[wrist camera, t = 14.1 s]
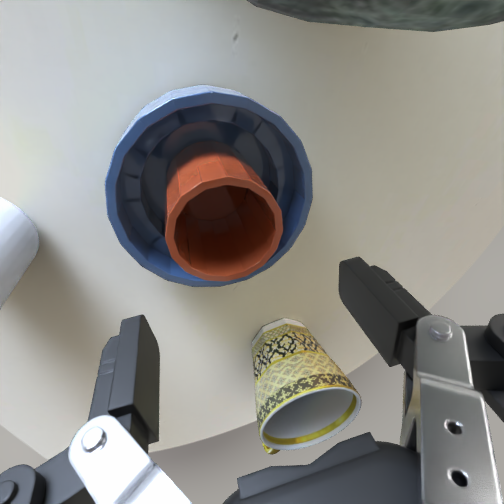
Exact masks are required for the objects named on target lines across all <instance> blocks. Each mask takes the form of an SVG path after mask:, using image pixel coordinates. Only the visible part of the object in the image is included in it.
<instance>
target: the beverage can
mask: <svg viewBox="0 0 504 504" xmlns="http://www.w3.org/2000/svg"><path fill="white" fill-rule="evenodd" d="M38 248H39V236H38V232H37V229H36V227H35V225H34V224H33V222H32V221H31V219H30V218H29V217H28V216H27V215H26V214H25V213H24V212H23V211H22V210H21V209H19V208H18V207H16V206H15V205H14V204H12V203H10V202H8V201H6V200H4V199H2V198H0V309H1V307H2V306H3V304H4V303H5V301H6V300H7V298H8V297H9V295H10V294H11V292H12V291H13V289H14V288H15V286H16V284H17V283H18V281H19V280H20V278H21V277H22V275H23V274H24V272H25V271H26V269H27V268H28V266H29V265H30V263H31V262H32V260H33V258H34V257H35V255H36V253H37V251H38Z"/></svg>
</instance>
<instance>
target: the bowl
mask: <svg viewBox="0 0 504 504" xmlns="http://www.w3.org/2000/svg"><path fill="white" fill-rule="evenodd" d="M199 141H218V142H222V143H225V144H227V145H229V146H231V147H232V148H234V149H235V150H236V151H238V152H239V153H240V154H241V155H242V156H243V157H244V158H245V160H246V161H247V162H248V164H249V165H250V166H251V168H252V169H253V170H254V172H255V173H256V174H257V175H258V177H259V178H260V179H261V181H262V182H263V183H264V185H265V186H266V187H267V189H268V190H269V191H270V193H271V194H272V196H273V197H274V199H275V201H276V202H277V204H278V206H279V207H280V209H281V212H282V223H283V233H282V236H281V239H280V242H279V245H278V248H277V250H276V251H275V252H274V254H273V255H272V256H271V257H270V259H269V260H268V261H267V262H266V263H265V265H263V266H262V267H260V268H259V269H257V270H256V271H254V272H252V273H251V274H249V275H248V276H246V277H242V278H238V279H234V280H230V281H226V282H225V281H207V280H203V279H201V278H198V277H196V276H194V275H191V274H189V273H187V272H185V271H184V270H183V269H182V268H181V267H180V266H179V265H178V264H177V263H176V262H175V261H174V260H173V259H172V257H171V254H170V251H169V249H168V246H167V243H166V240H165V184H166V174H167V170H168V167H169V165H170V163H171V161H172V160H173V158H174V157H175V156H176V155H177V154H178V152H180V151H181V150H182V149H183V148H185V147H187V146H188V145H190V144H193V143H196V142H199ZM105 193H106V205H107V215H108V218H109V220H110V223H111V225H112V227H113V229H114V231H115V233H116V235H117V238H118V240H119V242H120V244H121V245H122V246H123V247H124V248H125V249H126V251H127V252H128V253H129V254H130V255H131V256H132V257H133V258H134V259H135V260H136V261H137V262H138V263H139V264H140V265H141V266H142V267H144V268H146V269H147V270H149V271H151V272H153V273H154V274H156V275H158V276H160V277H162V278H163V279H165V280H167V281H171V282H175V283H179V284H183V285H187V286H192V287H221V286H225V285H229V284H233V283H237V282H240V281H244V280H247V279H250V278H251V277H253V276H255V275H257V274H259V273H260V272H262V271H264V270H266V269H268V268H270V266H272V265H273V264H274V263H276V262H277V261H278V260H279V259H280V258H281V257H282V256H283V255H284V254H285V253H286V252H287V251H288V250H290V248H291V247H292V245H293V244H294V242H295V241H296V239H297V237H298V236H299V234H300V233H301V231H302V230H303V228H304V225H305V224H306V220H307V217H308V213H309V210H310V206H311V203H312V198H313V195H312V169H311V166H310V163H309V160H308V158H307V155H306V152H305V149H304V147H303V144H302V142H301V140H300V139H299V137H298V136H297V135H296V134H295V133H294V131H293V130H292V129H291V128H290V127H289V125H288V124H287V123H286V122H285V121H284V119H283V118H282V117H281V116H280V115H279V114H277V113H275V112H273V111H272V110H270V109H268V108H267V107H265V106H263V105H261V104H260V103H258V102H256V101H254V100H253V99H251V98H249V97H247V96H245V95H243V94H241V93H239V92H237V91H235V90H232V89H226V88H220V87H215V86H209V85H197V86H192V87H186V88H181V89H175V90H171V91H169V92H167V93H166V94H164V95H162V96H161V97H159V98H157V99H156V100H154V101H152V102H151V103H149V104H147V105H146V106H144V107H143V108H142V109H141V110H140V112H139V113H138V114H137V116H136V117H135V118H134V119H133V121H132V122H131V123H130V125H129V126H128V127H127V129H126V130H125V131H124V133H123V135H122V137H121V138H120V140H119V142H118V144H117V146H116V148H115V150H114V153H113V156H112V160H111V163H110V166H109V170H108V173H107V176H106V180H105Z"/></svg>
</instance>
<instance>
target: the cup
mask: <svg viewBox="0 0 504 504" xmlns="http://www.w3.org/2000/svg"><path fill="white" fill-rule="evenodd" d="M282 233H283V223H282V212H281V209H280V207H279V206H278V204H277V202H276V201H275V199H274V197H273V196H272V194H271V193H270V191H269V190H268V189H267V187H266V186H265V185H264V183H263V182H262V181H261V179H260V178H259V177H258V175H257V174H256V173H255V172H254V170H253V169H252V168H251V166H250V165H249V164H248V162H247V161H246V160H245V158H244V157H243V156H242V155H241V154H240V153H239V152H238V151H236V150H235V149H234V148H232V147H231V146H229V145H227V144H225V143H222V142H218V141H199V142H196V143H193V144H190V145H188V146H187V147H185V148H183V149H182V150H181V151H180V152H178V154H177V155H176V156H175V157H174V158H173V160H172V161H171V163H170V165H169V167H168V170H167V174H166V184H165V240H166V243H167V246H168V249H169V251H170V254H171V257H172V259H173V260H174V261H175V262H176V263H177V264H178V265H179V266H180V267H181V268H182V269H183V270H184V271H185V272H187V273H189V274H191V275H194V276H196V277H198V278H201V279H203V280H207V281H225V282H226V281H230V280H234V279H238V278H242V277H246V276H248V275H249V274H251V273H252V272H254V271H256V270H257V269H259V268H260V267H262V266H263V265H265V263H266V262H267V261H268V260H269V259H270V257H271V256H272V255H273V254H274V252H275V251H276V250H277V248H278V245H279V242H280V239H281V236H282Z"/></svg>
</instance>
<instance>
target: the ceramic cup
mask: <svg viewBox="0 0 504 504" xmlns="http://www.w3.org/2000/svg"><path fill="white" fill-rule="evenodd" d="M252 356H253V366H254V378H255V399H256V412H257V422H258V429H259V436H260V439H261V441H262V443H263V447H264V449H265V451H266V452H267V453H268V454H275V453H277V452H279V451H280V450H295V449H300V448H305V447H308V446H312V445H315V444H317V443H320V442H322V441H325V440H327V439H328V438H331V437H332V436H334V435H336V434H337V433H339V432H340V431H342V430H343V429H344V428H345V427H347V426H348V425H349V424H350V423H351V422H352V421H353V420H354V418H355V417H356V416H357V414H358V413H359V411H360V408H361V397H360V395H359V393H358V392H357V391H356V389H355V388H354V386H353V385H352V383H351V382H350V381H349V380H348V378H347V377H346V376H345V374H344V373H343V372H342V371H341V369H340V368H339V367H338V366H337V365H336V364H335V362H334V361H333V360H332V359H331V358H330V357H329V356H328V355H327V354H326V352H325V351H324V350H323V348H322V347H321V346H320V345H319V343H318V342H317V341H316V340H315V338H314V337H313V336H312V335H311V333H310V332H309V331H308V329H307V328H306V327H305V326H304V325H303V323H301V322H299V321H295V320H291V319H287V318H283V319H280V320H278V321H275V322H273V323H270V324H268V325H265V326H263V327H262V328H261V330H260V331H259V333H258V334H257V336H256V337H255V339H254V340H253V342H252Z"/></svg>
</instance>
